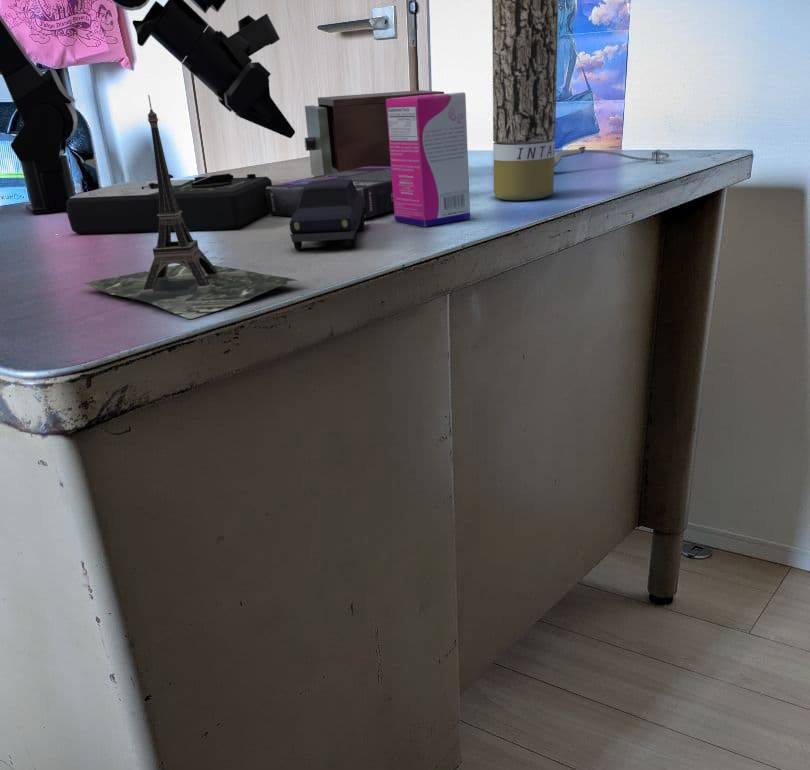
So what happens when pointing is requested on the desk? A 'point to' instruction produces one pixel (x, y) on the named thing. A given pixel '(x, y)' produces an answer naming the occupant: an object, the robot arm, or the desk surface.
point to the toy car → (328, 212)
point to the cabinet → (363, 127)
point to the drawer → (320, 139)
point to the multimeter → (197, 199)
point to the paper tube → (524, 97)
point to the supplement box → (429, 158)
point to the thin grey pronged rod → (582, 150)
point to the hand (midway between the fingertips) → (292, 135)
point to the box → (365, 179)
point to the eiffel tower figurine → (184, 263)
